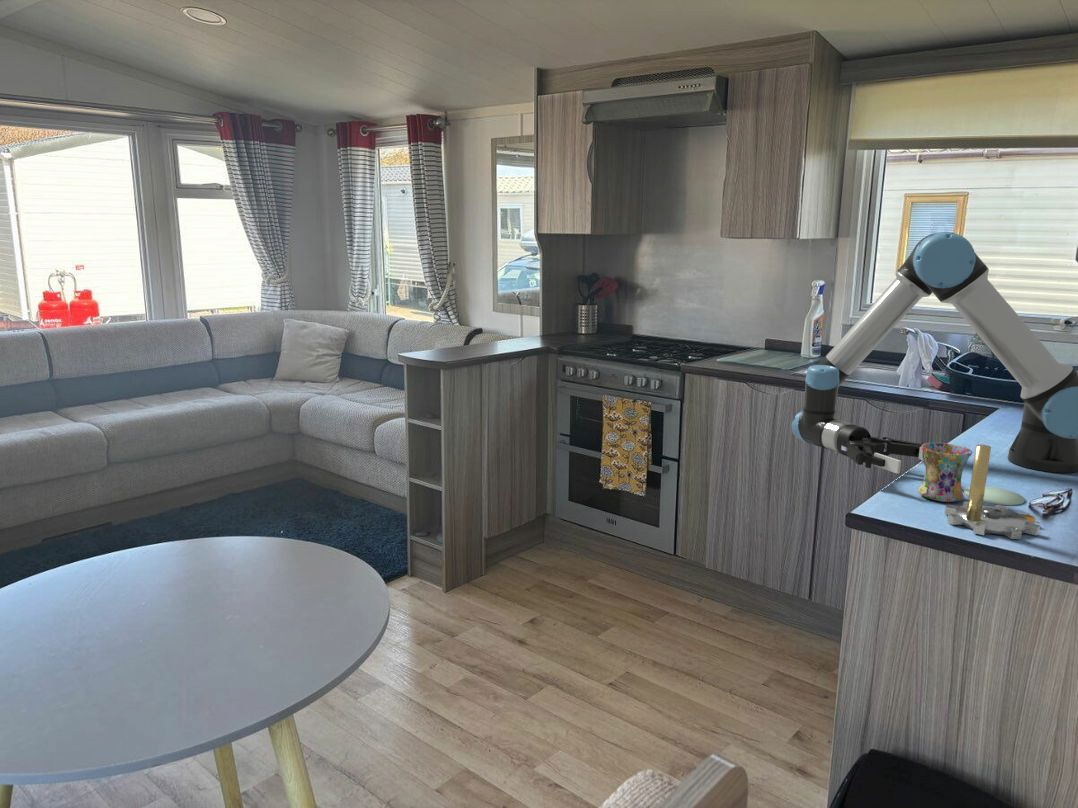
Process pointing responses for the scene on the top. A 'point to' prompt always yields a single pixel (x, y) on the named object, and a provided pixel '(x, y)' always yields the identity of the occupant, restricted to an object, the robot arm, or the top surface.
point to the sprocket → (988, 507)
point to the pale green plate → (1000, 496)
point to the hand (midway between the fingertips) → (922, 463)
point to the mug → (943, 471)
